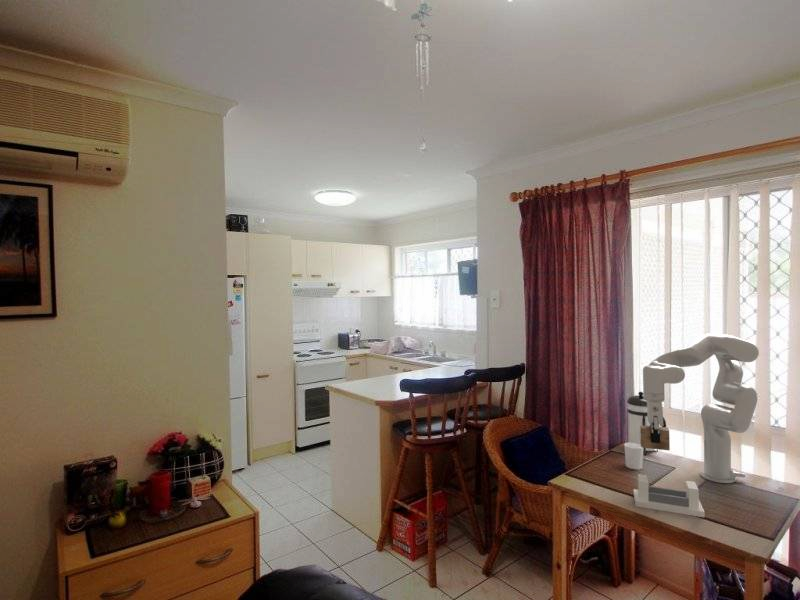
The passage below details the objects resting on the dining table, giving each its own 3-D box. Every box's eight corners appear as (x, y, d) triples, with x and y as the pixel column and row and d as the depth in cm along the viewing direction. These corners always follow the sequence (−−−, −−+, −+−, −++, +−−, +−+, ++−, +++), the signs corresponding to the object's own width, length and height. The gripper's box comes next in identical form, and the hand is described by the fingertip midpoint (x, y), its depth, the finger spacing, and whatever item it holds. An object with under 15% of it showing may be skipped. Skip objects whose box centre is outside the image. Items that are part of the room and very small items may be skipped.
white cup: (620, 465, 208) (620, 444, 208) (632, 462, 211) (632, 441, 211) (635, 471, 201) (635, 449, 200) (647, 468, 204) (647, 446, 204)
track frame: (698, 503, 170) (698, 480, 170) (704, 517, 160) (704, 492, 160) (633, 493, 179) (633, 471, 179) (635, 506, 169) (635, 482, 169)
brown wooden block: (668, 447, 182) (667, 427, 182) (669, 450, 178) (669, 430, 178) (640, 444, 186) (640, 425, 186) (641, 447, 182) (640, 428, 182)
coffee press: (626, 454, 221) (626, 394, 220) (623, 444, 236) (623, 387, 235) (666, 458, 215) (666, 396, 214) (660, 447, 230) (660, 389, 229)
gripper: (667, 402, 173) (668, 448, 173) (661, 392, 188) (662, 435, 188) (645, 400, 176) (646, 446, 176) (641, 391, 191) (642, 433, 191)
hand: (654, 440), depth 182 cm, fingers closed on brown wooden block, 4 cm apart
